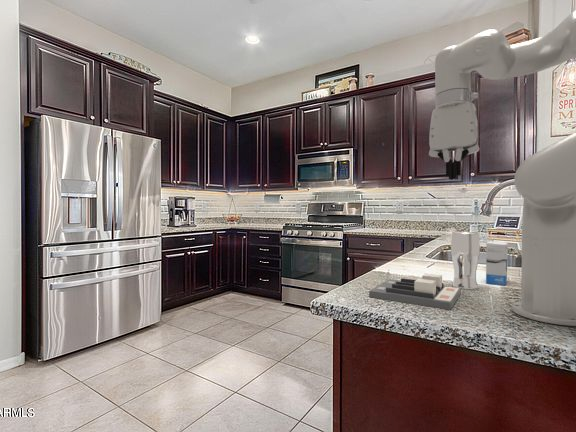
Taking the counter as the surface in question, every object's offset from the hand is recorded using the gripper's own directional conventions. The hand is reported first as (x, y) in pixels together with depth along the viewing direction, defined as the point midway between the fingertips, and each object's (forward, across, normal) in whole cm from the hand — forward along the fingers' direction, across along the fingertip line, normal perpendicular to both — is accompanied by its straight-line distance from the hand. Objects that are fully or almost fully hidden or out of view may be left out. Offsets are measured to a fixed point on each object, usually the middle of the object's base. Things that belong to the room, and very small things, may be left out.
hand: (453, 179), depth 76 cm
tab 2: (+27, +5, -2) cm, 28 cm away
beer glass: (+29, -1, -15) cm, 33 cm away
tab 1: (+27, +5, +6) cm, 28 cm away
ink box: (+29, -8, -27) cm, 40 cm away
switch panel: (+29, +8, +2) cm, 30 cm away
